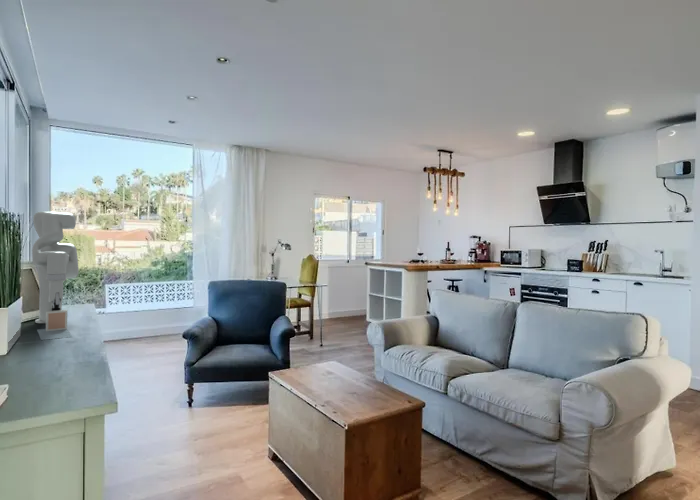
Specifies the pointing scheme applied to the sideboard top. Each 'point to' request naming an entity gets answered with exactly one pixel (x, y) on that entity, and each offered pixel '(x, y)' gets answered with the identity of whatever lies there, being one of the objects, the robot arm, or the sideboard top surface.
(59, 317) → the picture frame
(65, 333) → the mat
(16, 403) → the sideboard top surface
